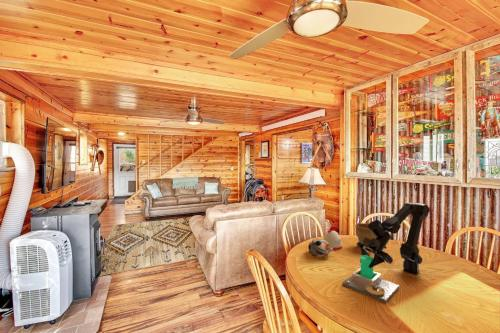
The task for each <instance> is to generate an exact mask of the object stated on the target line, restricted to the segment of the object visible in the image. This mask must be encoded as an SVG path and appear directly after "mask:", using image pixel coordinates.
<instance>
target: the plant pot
mask: <svg viewBox="0 0 500 333" xmlns="http://www.w3.org/2000/svg"><path fill="white" fill-rule="evenodd" d="M368 224H369V223H366V222H365V223H364V222H362V223H361V222H360V223H356V224H354V225H355V232H356V235H357V238H358V239H357V240H358V242H362V243H363V240H364V237H366V238H368V239H372V238H374V239H375V238H376V236H375V235H374V234H373V233H372V231H371V230H370V229H369V228H368ZM365 244H366V243H365ZM366 245H367V244H366ZM367 247H369V246H367Z"/></svg>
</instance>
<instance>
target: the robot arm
mask: <svg viewBox="0 0 500 333" xmlns="http://www.w3.org/2000/svg"><path fill="white" fill-rule="evenodd" d="M430 211H431V208H430V206H429V205H428V204H425V203H419V202H412V203H411V202H404V204H403V206H402V207H401V208H400V209H399V210H398V211H397V212H396V213H395V214H394V215H393V216H392V217H391V216H390V217H388V218H386V219H384V220H383V221H382V222H381V221H380V219H374V220H373V221H371V222H369V223H367V224H368V228H369V229H370V230H371V231H372V233H373V234H374V235H375V236H376V238H375V239H374V238H372V239H368V238H366V237H364V240H363V243H362V242H359V241H357V243H356V244H355V245H356V247H358V248H359V250H361V252H360V253H361V255H368V256H370V254H369V253H372V254H373V257H372V258H373V260H372V262H371V263H370V265H369V268H372V267H373V268H374V267H376V266H378V265H381V264H382V263H383V264H385V263H387V264H390V265H391V264H392V263H393V262H394V259H393V257H392V256H391V255H390V254H389V253H388V252H385V251H384V249H387V244H388V243H389V241H390V240H391V241H394V237H393V234H397V233H398V232H399V230H400V229H401V225H402V223H403V222H404V221H405V220H406V219H407V218H408V217H409V216H410V215H411V222H410V226H409V229H408V233H407V234H408V235H407V237H406V240H405V242H402V243H401V244H400V248H399V254H400V256H401V259H404V260H403V261H402V262H403V263H402V265H403V267H402V268H403V269H402V270H403V271H404V272H407V273H410V274H412V275H413V274H414V275H418V274H419V273H420V271H421V270H420V265H421V264H422V263H423V261H424V260H423V257H422V256H421V254H419V253H420V248H419V246H418V243H419V237H420V233H421V229H422V225H423V221H424V220H425V219H426V218H427V217H428V216H429V213H430ZM365 243H366V244H367V245H366V244H365ZM367 246H369V247H367ZM361 255H360V256H361ZM370 257H371V256H370ZM359 263H360V264H361V258H360V261H359Z"/></svg>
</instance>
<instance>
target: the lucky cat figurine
mask: <svg viewBox="0 0 500 333" xmlns="http://www.w3.org/2000/svg"><path fill="white" fill-rule="evenodd" d="M307 249H308V252H309V253H310V254H311V256H312V257H316V256H317V258H322V257H325V255H329V254H330V253H331V252H332V251H333V246H330V244H328V242H326V241H325V240H323V239H322V238H318V239H313V240H312V241H311V242H309V244H308V248H307Z"/></svg>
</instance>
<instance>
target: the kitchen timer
mask: <svg viewBox="0 0 500 333" xmlns="http://www.w3.org/2000/svg"><path fill="white" fill-rule="evenodd" d="M337 229H338V227H336V225H334V226H333V225H332V226H330V227H329V228H328V229H327V232H326V233H325V234H324V235H323V239H322V240H325V241H326V242H328V244H330V246H333V250H334V251H339V250H342V249H343V242H342V239H341V237H340V235H339V233H338V232H337ZM333 250H332V251H333Z"/></svg>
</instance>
